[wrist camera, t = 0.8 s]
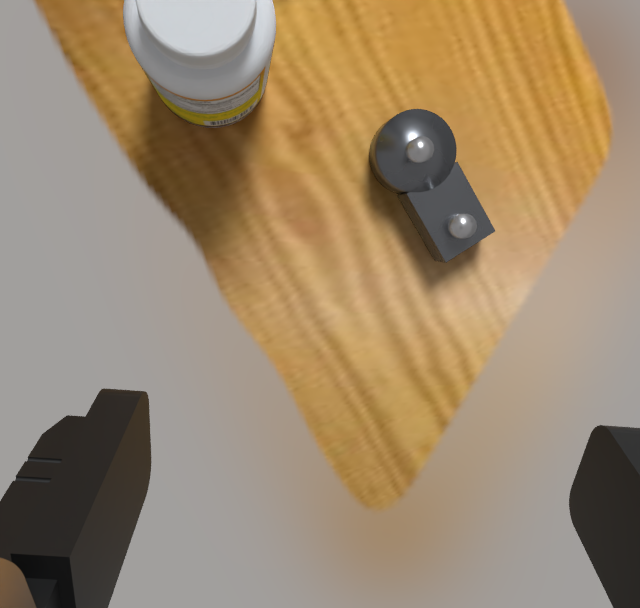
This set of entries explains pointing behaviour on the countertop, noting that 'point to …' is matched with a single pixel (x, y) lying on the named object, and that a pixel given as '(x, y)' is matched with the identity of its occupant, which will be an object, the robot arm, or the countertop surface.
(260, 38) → the supplement bottle
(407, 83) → the countertop surface
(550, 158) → the countertop surface
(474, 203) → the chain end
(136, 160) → the countertop surface
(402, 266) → the countertop surface
